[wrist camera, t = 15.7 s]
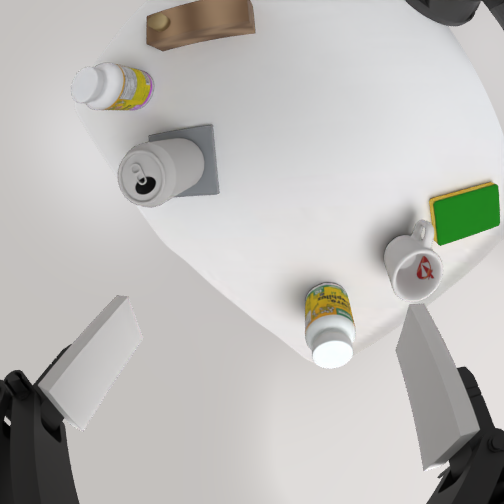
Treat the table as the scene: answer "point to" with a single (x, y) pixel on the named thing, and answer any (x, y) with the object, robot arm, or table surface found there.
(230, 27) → the walnut block
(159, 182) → the can
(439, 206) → the dish sponge
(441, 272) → the cup
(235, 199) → the table surface
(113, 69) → the supplement bottle
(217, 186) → the trivet
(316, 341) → the supplement bottle
